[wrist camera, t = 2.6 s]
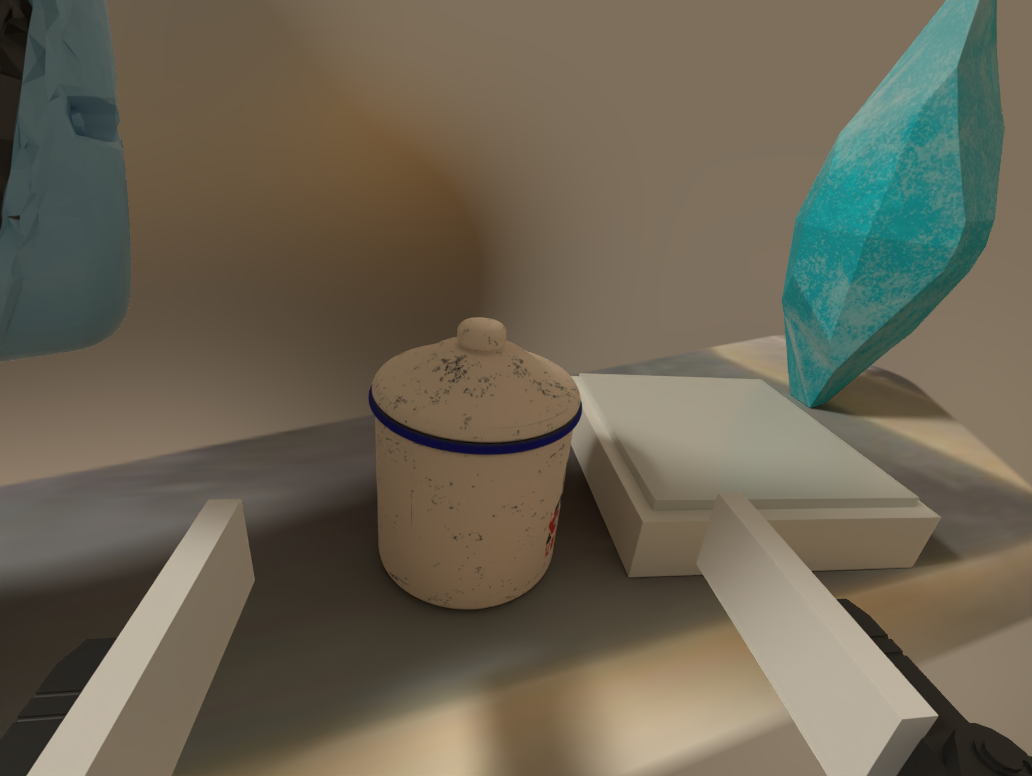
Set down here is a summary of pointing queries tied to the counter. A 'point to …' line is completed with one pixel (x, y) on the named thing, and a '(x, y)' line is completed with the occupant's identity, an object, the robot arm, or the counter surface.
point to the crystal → (897, 204)
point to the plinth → (734, 475)
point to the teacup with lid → (470, 465)
